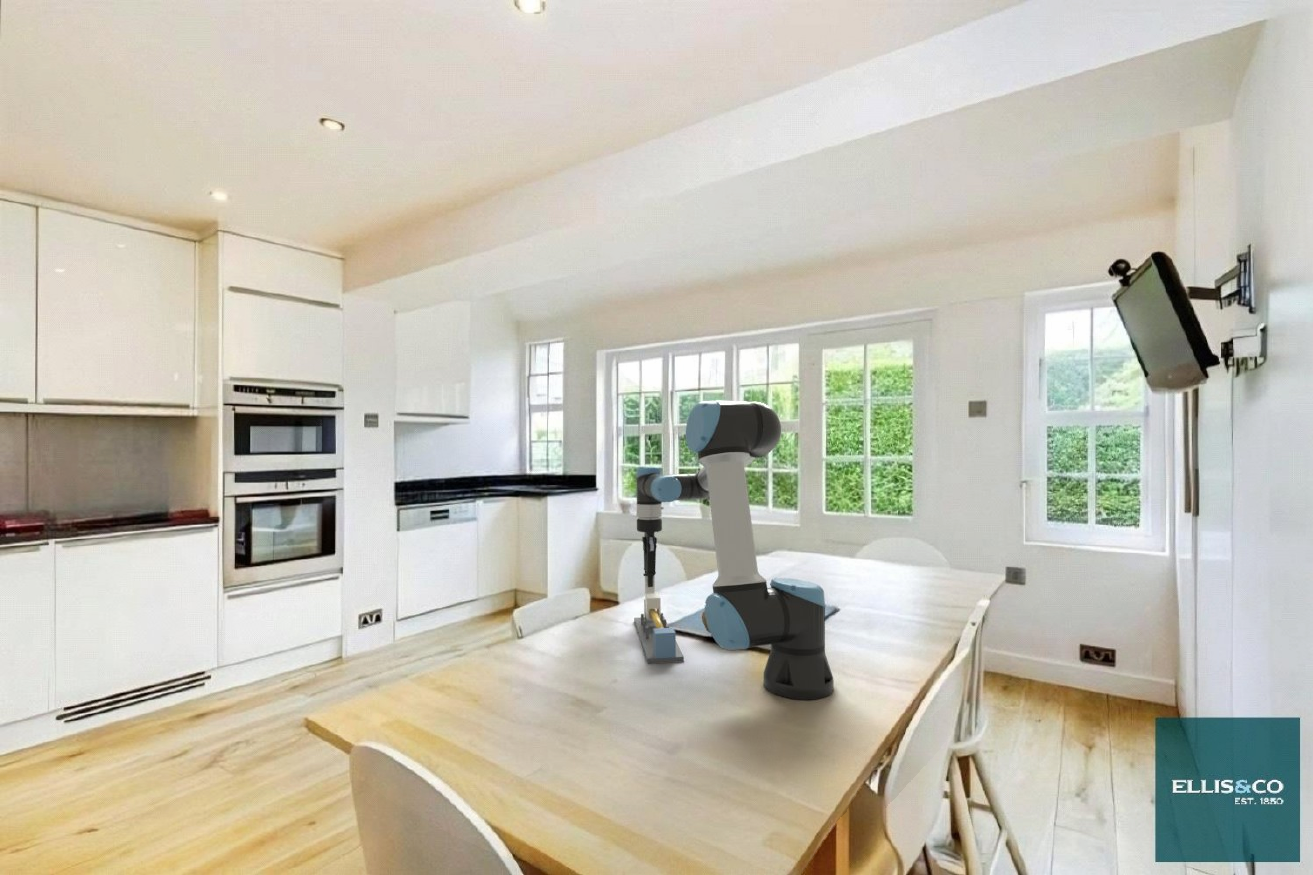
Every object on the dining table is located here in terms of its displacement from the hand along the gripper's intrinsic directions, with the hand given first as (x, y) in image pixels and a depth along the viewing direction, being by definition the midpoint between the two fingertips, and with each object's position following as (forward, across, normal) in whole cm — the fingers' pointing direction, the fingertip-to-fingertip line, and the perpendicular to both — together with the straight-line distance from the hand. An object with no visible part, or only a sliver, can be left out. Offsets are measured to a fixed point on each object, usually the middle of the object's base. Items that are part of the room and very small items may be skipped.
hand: (649, 596), depth 179 cm
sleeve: (+4, -7, 0) cm, 8 cm away
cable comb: (+8, -15, 0) cm, 17 cm away
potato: (+8, -17, -19) cm, 27 cm away
